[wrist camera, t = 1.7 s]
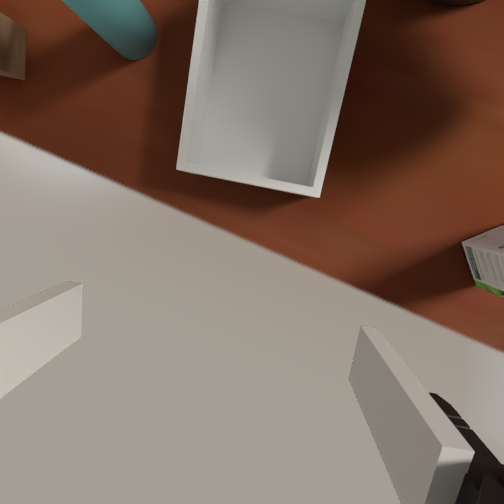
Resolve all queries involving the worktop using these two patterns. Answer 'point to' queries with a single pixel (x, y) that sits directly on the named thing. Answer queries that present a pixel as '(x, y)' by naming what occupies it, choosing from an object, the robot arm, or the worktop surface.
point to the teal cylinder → (119, 24)
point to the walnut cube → (12, 48)
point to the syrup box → (487, 259)
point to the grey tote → (267, 90)
